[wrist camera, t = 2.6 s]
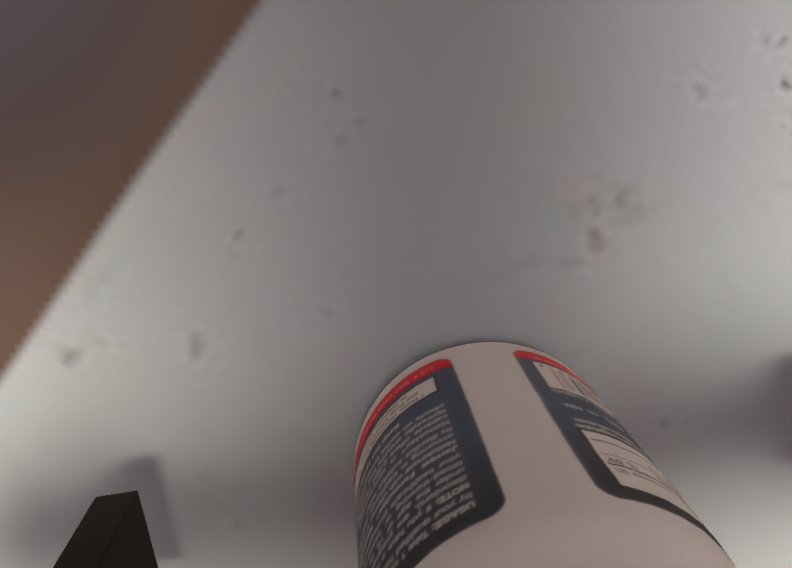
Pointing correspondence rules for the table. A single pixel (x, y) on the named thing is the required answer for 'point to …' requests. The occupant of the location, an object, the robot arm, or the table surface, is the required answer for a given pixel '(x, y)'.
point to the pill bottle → (512, 473)
